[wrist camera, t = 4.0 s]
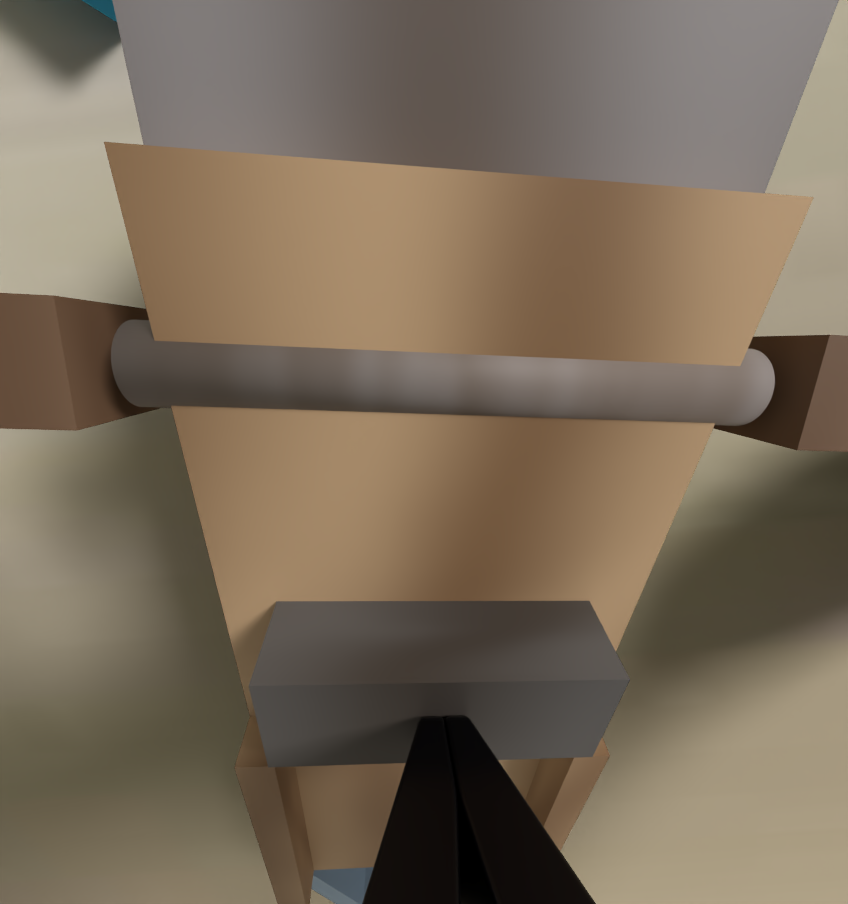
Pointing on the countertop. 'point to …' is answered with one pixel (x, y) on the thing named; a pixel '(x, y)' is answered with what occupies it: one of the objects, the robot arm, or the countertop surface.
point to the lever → (103, 7)
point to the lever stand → (100, 401)
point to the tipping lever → (445, 355)
